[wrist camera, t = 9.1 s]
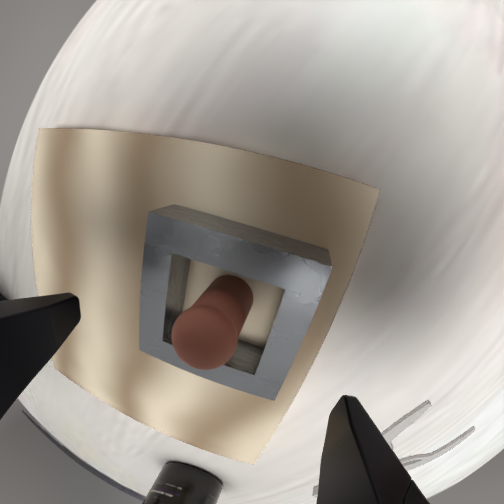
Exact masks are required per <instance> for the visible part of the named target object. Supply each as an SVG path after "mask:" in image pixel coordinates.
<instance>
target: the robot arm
mask: <svg viewBox="0 0 504 504" xmlns="http://www.w3.org/2000/svg"><path fill="white" fill-rule="evenodd" d="M80 319H81V311H80V301H79V298H78V297H77V296H76V295H74V294H72V293H70V292H67V293H60V294H53V295H45V296H38V297H30V298H22V299H14V300H6V299H5V298H4V297H2V296H1V295H0V420H1V418H2V417H3V415H4V414H5V413H6V412H7V410H8V409H9V408H10V406H11V405H12V404H13V402H14V401H15V400H16V399H17V398H18V396H19V395H20V394H21V393H22V391H23V390H24V389H25V388H26V387H27V385H28V384H29V383H30V382H31V381H32V379H33V378H34V377H35V376H36V375H37V374H38V372H39V371H40V370H41V369H42V368H43V367H44V366H45V364H46V363H47V362H48V361H49V360H50V359H51V358H52V357H53V355H54V354H55V353H56V352H57V351H58V350H59V348H60V347H61V346H62V344H63V343H64V342H65V340H66V339H67V338H68V336H69V335H70V334H71V332H72V331H73V330H74V328H75V327H76V326H77V325H78V323H79V322H80ZM317 504H430V503H429V502H428V500H427V499H426V498H425V496H424V495H423V494H422V492H421V491H420V489H419V488H418V487H417V485H416V484H415V482H414V481H413V480H411V476H410V475H409V474H408V472H407V471H406V469H405V468H404V466H403V465H402V463H401V462H400V460H399V459H398V457H397V456H396V454H395V453H394V452H393V450H392V449H391V447H390V446H389V444H388V443H387V441H386V440H385V438H384V437H383V435H382V434H381V432H380V431H379V430H378V428H377V427H376V425H375V424H374V422H373V421H372V419H371V418H370V416H369V415H368V413H367V412H366V411H365V409H364V408H363V406H362V405H361V403H360V402H359V400H358V399H357V398H356V397H354V396H348V395H343V396H342V397H341V398H340V399H339V401H338V402H337V404H336V405H335V407H334V408H333V409H332V411H331V413H330V416H329V420H328V426H327V432H326V437H325V442H324V447H323V452H322V458H321V466H320V477H319V487H318V496H317Z"/></svg>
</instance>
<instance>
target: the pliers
mask: <svg viewBox="0 0 504 504" xmlns="http://www.w3.org/2000/svg"><path fill="white" fill-rule="evenodd" d="M431 406H432V405H431V403H430V402H429V401H425V402H424V403H422V404H421V405H419V406H418V407H416V408H415V409H413V410H412V411H410V412H409V413H407V414H406V415H404V416H403V417H402V418H400V419H399V420H398V421H396V422H395V423H393V424H392V425H391V426H390V427H388V428H387V429H386V430H385V431H383V432H382V433H381V434H382V435H383V437H384V438H385V440H386V441H387V443H388V444H389V446H390V447H391V449H392V450H393V447H392V444H391V441H392V440H393V439H394V438H395V437H396V436H397V435H398V434H400V433H401V432H402V431H403V430H404V429H405V428H406V427H408V426H409V425H410V424H411V423H412V422H413V421H415V420H416V419H417V418H418V417H419V416H420V415H421V414H423V413H424V412H425V411H426V410H427V409H428V408H430V407H431ZM474 431H475V428H474V427H473V426H472V427H471V428H470V429H468V430H467V431H466V432H464V433H463V434H461V435H460V436H459V437H457V438H456V439H454V440H453V441H451V442H449V443H448V444H446V445H444V446H443V447H441V448H439V449H437V450H435V451H433V452H432V453H428V454H420V455H414V456H409V457H406V458H402V459H399V460H400V462H401V463H403V464H402V465H403V466H404V468H405V469H406V471H407V470H410V469H413V468H416V467H418V466H421V465H423V464H425V463H427V462H430V461H432V460H434V459H435V458H437V457H439V456H441V455H443V454H444V453H446V452H448V451H449V450H451V449H452V448H454V447H455V446H457V445H458V444H459V443H461V442H462V441H463V440H464V439H466V438H467V437H468V436H469V435H470V434H471V433H473V432H474ZM412 460H413V461H412ZM407 461H410V462H407ZM404 462H406V463H404ZM318 487H319V485H318V486H315V487H314V488H313V496H314V497H317V496H318Z"/></svg>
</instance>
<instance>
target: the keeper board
mask: <svg viewBox="0 0 504 504" xmlns="http://www.w3.org/2000/svg"><path fill="white" fill-rule="evenodd" d="M379 193H380V189H377V188H374V187H371V186H369V185H366V184H363V183H360V182H357V181H354V180H351V179H348V178H345V177H342V176H339V175H336V174H332V173H329V172H326V171H323V170H319V169H316V168H312V167H309V166H305V165H302V164H298V163H295V162H291V161H287V160H283V159H279V158H275V157H271V156H267V155H263V154H259V153H254V152H250V151H245V150H241V149H236V148H231V147H226V146H221V145H216V144H211V143H205V142H199V141H193V140H187V139H181V138H174V137H167V136H159V135H151V134H142V133H133V132H122V131H110V130H94V129H66V128H40V129H39V130H38V136H37V142H36V149H35V157H34V167H33V179H32V198H31V230H32V250H33V262H34V272H35V280H36V287H37V294H38V296H45V295H53V294H60V293H67V292H70V293H72V294H74V295H76V296H77V297H78V298H79V301H80V311H81V319H80V322H79V323H78V325H77V326H76V327H75V328H74V330H73V331H72V332H71V334H70V335H69V336H68V338H67V339H66V340H65V342H64V343H63V344H62V346H61V347H60V348H59V350H58V351H57V352H56V353H55V354H54V355H53V357H52V360H53V363H54V366H55V369H57V370H58V371H59V372H61V373H62V374H63V375H65V376H66V377H67V378H69V379H70V380H71V381H73V382H74V383H76V384H77V385H78V386H80V387H81V388H83V389H84V390H86V391H87V392H89V393H90V394H92V395H93V396H95V397H97V398H98V399H100V400H101V401H103V402H105V403H106V404H108V405H110V406H111V407H113V408H115V409H116V410H118V411H120V412H122V413H124V414H125V415H127V416H129V417H131V418H133V419H135V420H137V421H139V422H141V423H143V424H145V425H147V426H149V427H151V428H153V429H155V430H157V431H159V432H161V433H164V434H166V435H168V436H170V437H173V438H175V439H177V440H180V441H182V442H185V443H187V444H190V445H192V446H195V447H198V448H200V449H203V450H206V451H209V452H212V453H215V454H218V455H221V456H224V457H227V458H231V459H234V460H238V461H241V462H245V463H249V464H252V465H254V463H255V462H256V460H257V459H258V457H259V456H260V454H261V453H262V451H263V450H264V448H265V447H266V445H267V444H268V442H269V440H270V439H271V437H272V436H273V434H274V432H275V431H276V429H277V427H278V426H279V424H280V422H281V421H282V419H283V417H284V416H285V414H286V412H287V411H288V409H289V407H290V405H291V404H292V402H293V400H294V398H295V396H296V395H297V393H298V391H299V389H300V387H301V385H302V383H303V382H304V380H305V378H306V376H307V374H308V372H309V370H310V368H311V366H312V364H313V362H314V360H315V358H316V356H317V354H318V352H319V350H320V348H321V346H322V344H323V342H324V339H325V337H326V335H327V333H328V331H329V329H330V326H331V324H332V322H333V320H334V317H335V315H336V313H337V310H338V308H339V306H340V303H341V301H342V299H343V296H344V294H345V291H346V289H347V286H348V284H349V281H350V279H351V276H352V273H353V271H354V268H355V266H356V263H357V260H358V257H359V255H360V252H361V249H362V246H363V243H364V240H365V238H366V235H367V232H368V229H369V226H370V222H371V219H372V216H373V213H374V210H375V206H376V203H377V200H378V196H379ZM173 204H175V205H179V206H183V207H186V208H190V209H194V210H197V211H201V212H204V213H208V214H212V215H215V216H219V217H222V218H226V219H229V220H233V221H236V222H240V223H243V224H246V225H250V226H253V227H257V228H260V229H263V230H267V231H270V232H273V233H277V234H280V235H283V236H287V237H290V238H293V239H297V240H300V241H303V242H306V243H310V244H313V245H316V246H319V247H322V248H326V249H329V253H330V258H331V262H332V270H331V273H330V275H329V278H328V281H327V283H326V286H325V288H324V291H323V293H322V296H321V299H320V301H319V304H318V306H317V309H316V311H315V313H314V316H313V318H312V321H311V323H310V325H309V328H308V330H307V332H306V335H305V337H304V339H303V342H302V344H301V346H300V348H299V351H298V353H297V355H296V357H295V359H294V361H293V364H292V366H291V368H290V370H289V372H288V374H287V376H286V378H285V380H284V382H283V385H282V387H281V389H280V391H279V393H278V395H277V397H276V399H275V401H273V400H269V399H266V398H262V397H259V396H255V395H252V394H249V393H246V392H243V391H239V390H236V389H233V388H230V387H227V386H225V385H222V384H219V383H216V382H213V381H211V380H208V379H205V378H203V377H200V376H197V375H195V374H192V373H190V372H187V371H185V370H182V369H180V368H178V367H175V366H173V365H171V364H168V363H166V362H164V361H162V360H159V359H157V358H155V357H153V356H151V355H149V354H146V353H144V352H142V351H140V350H139V312H140V290H141V275H142V263H143V252H144V242H145V234H146V226H147V218H148V211H152V210H155V209H159V208H162V207H166V206H169V205H173ZM282 292H283V288H280V287H277V286H273V285H270V284H267V283H264V282H261V281H258V280H254V279H251V278H248V277H245V276H242V275H239V274H236V273H232V272H229V271H226V270H223V269H220V268H217V267H214V266H211V265H208V264H205V263H202V262H199V261H196V260H193V259H191V260H190V266H189V272H188V279H187V285H186V291H185V298H184V305H183V312H182V313H181V314H180V315H179V317H178V318H177V319H176V321H175V323H174V325H173V328H172V344H173V348H174V350H175V352H176V354H177V355H178V357H179V358H180V359H181V360H182V361H183V362H184V363H186V364H187V365H189V366H191V367H193V368H196V369H201V370H210V369H215V368H218V367H220V366H222V365H224V364H225V363H226V362H227V361H229V359H230V358H231V357H232V356H233V354H234V352H235V350H236V347H237V343H238V339H239V340H242V341H245V342H248V343H251V344H254V345H257V346H260V347H263V346H264V344H265V341H266V338H267V335H268V332H269V330H270V327H271V324H272V321H273V318H274V315H275V312H276V309H277V306H278V304H279V301H280V298H281V295H282Z"/></svg>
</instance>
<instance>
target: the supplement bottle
mask: <svg viewBox="0 0 504 504" xmlns="http://www.w3.org/2000/svg"><path fill="white" fill-rule="evenodd" d="M221 489H222V486H221V483H220V482H219V481H218V480H217V479H216V478H215V477H214V476H212V475H210V474H209V473H207V472H205V471H202V470H200V469H198V468H195V467H192V466H189V465H186V464H182V463H176V462H172V463H167V464H166V465H164V467H163V468H162V470H161V472H160V473H159V475H158V477H157V479H156V480H155V482H154V484H153V486H152V488H151V489H150V491H149V493H148V495H147V496H146V498H145V500H144V501H143V503H142V504H216V503H217V500H218V498H219V495H220V492H221Z"/></svg>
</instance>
